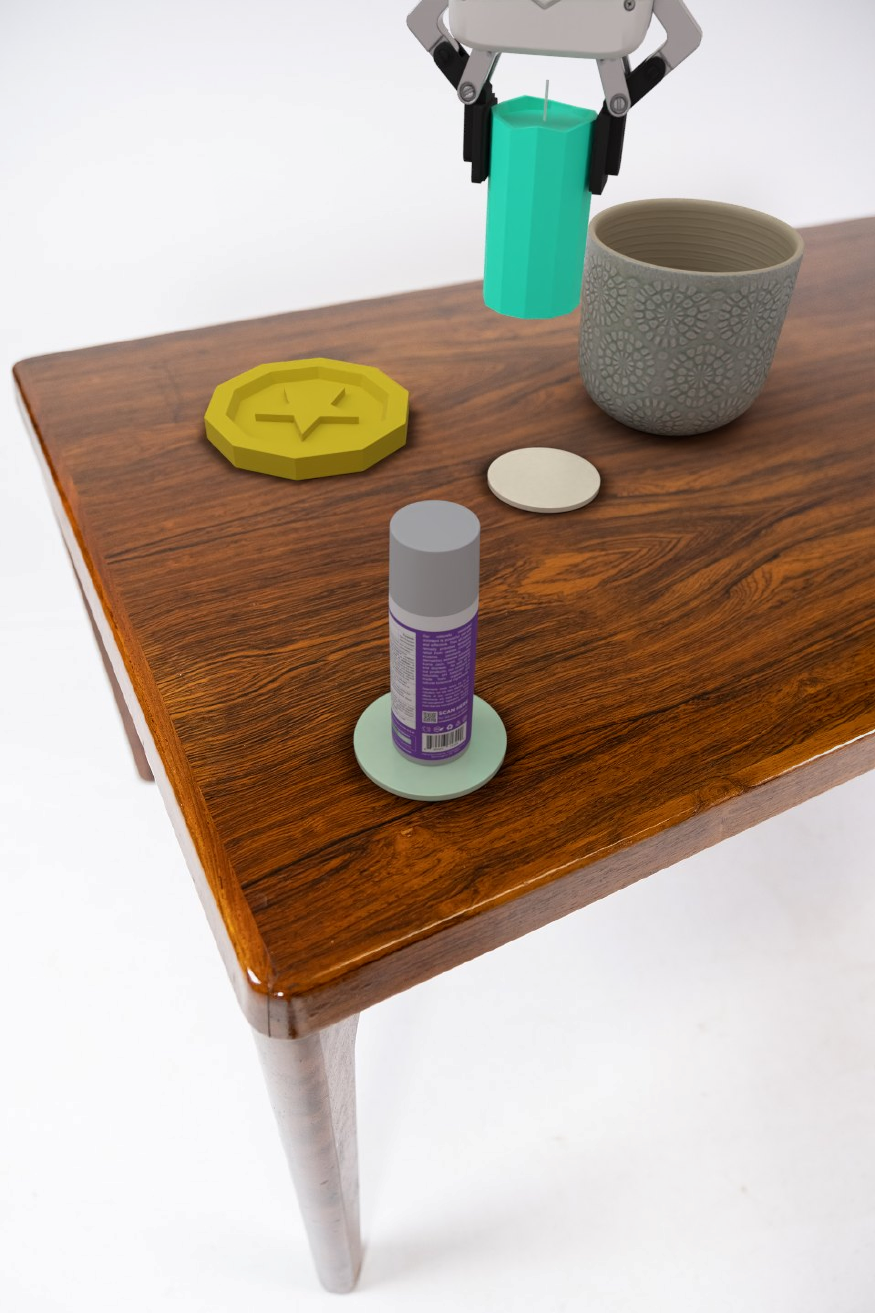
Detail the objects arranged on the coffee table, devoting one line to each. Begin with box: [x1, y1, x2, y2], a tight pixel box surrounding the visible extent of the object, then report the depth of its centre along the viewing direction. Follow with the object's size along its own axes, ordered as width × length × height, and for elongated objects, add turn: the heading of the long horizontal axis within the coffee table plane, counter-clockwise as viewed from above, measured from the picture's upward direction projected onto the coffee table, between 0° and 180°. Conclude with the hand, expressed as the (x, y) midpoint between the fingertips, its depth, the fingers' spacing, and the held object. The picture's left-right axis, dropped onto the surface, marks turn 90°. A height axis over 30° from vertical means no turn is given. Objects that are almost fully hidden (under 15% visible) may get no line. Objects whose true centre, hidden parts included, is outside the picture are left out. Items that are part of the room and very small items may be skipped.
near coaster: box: [353, 691, 508, 802], centre depth 60 cm, size 9×9×1 cm
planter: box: [577, 197, 805, 437], centre depth 85 cm, size 17×17×15 cm
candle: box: [482, 79, 599, 320], centre depth 58 cm, size 6×6×12 cm
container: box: [388, 499, 481, 766], centre depth 54 cm, size 5×5×15 cm
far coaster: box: [486, 447, 601, 514], centre depth 81 cm, size 9×9×1 cm
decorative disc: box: [203, 357, 410, 481], centre depth 87 cm, size 17×18×2 cm
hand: (540, 178), depth 58 cm, fingers closed on candle, 6 cm apart
